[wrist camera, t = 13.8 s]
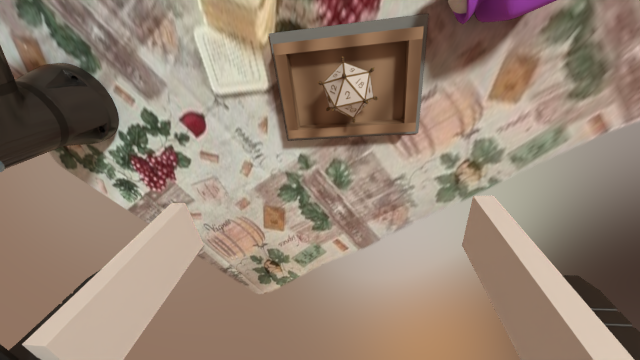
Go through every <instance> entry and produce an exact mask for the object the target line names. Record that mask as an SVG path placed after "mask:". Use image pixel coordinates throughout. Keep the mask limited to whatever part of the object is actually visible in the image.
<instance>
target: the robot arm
mask: <svg viewBox="0 0 640 360" xmlns="http://www.w3.org/2000/svg"><path fill="white" fill-rule="evenodd" d="M117 127H118V114H117V110H116V107H115V104H114V102H113V100H112V98H111V97H110V95H109V93H108V92H107V91H106V89H105V88H104V87H103V86H102V85H101V83H100V82H99V81H97V80H96V79H95V78H94V77H93V76H92V75H90V74H89V73H88V72H86V71H84V70H83V69H81V68H79V67H76V66H74V65H71V64H66V63H55V64H47V65H43V66H40V67H38V68H36V69H34V70H32V71H30V72H29V73H27V74H25V75H23V76H21V77H19V78H18V79H16V80H15V79H14V77H13V74H12V72H11V69H10V67H9V65H8V62H7V60H6V58H5V55H4V53H3V50H2V48H1V46H0V172H2V171H4V169H6V168H9V167H11V166H14V165H16V164H19V163H21V162H24V161H27V160H29V159H32V158H34V157H37V156H39V155H42V154H44V153H47V152H49V151H52V150H54V149H57V148H59V147H62V146H69V145H82V144H94V143H98V142H101V141H103V140H106V139H108V138H110V137H111V136H112V135H113V134H114V133H115V132H116V130H117ZM203 245H204V244H203V242H202V240H201V238H200V235H199V233H198V231H197V229H196V226H195V224H194V222H193V220H192V217H191V215H190V213H189V210H188V208H187V206H186V204H185V203H171V204H170V205H169V206H168V207H167V208H166V209H165V210H164V211H163V212H162V213H161V214H160V215H158V216H157V217H156V218H155V219H154V220H153V221H152V222H151V223H150V224H149V225H148V226H147V227H146V228H145V229H144V230H143V231H142V232H140V233H139V234H138V235H137V236H136V237H135V238H134V239H133V240H132V241H131V242H130V243H129V244H128V245H127V246H126V247H125V248H124V249H122V250H121V251H120V252H119V253H118V254H117V255H116V256H115V257H114V258H113V259H112V260H111V261H110V262H109V263H108V264H107V265H105V267H103V268H102V269H101V270H99V271H98V272H96V273H95V274H93V275H92V276H90V277H89V278H87V279H86V280H85V281H84V282H83V283H82V284H81V285H80V286H78V288H76V289H75V290H74V293H73V294H70V295H69V296H68V297H67V298H66V299H64V300H63V302H62V304H59V305H58V306H57V307H56V308H55V309H54V310H53V311H52V312H50V313H49V314H48V315H47V316H46V317H45V318H44V319H43V320H42V321H41V322H40V323H39V324H37V325H36V326H35V327H34V328H33V329H32V330H31V331H30V332H29V333H28V334H27V335H26V336H25V337H23V338H22V339H21V340H20V341H19V342H18V343H17V344H16V345H15V346H13V347H12V348H11V349H10V350H9V351H8V350H7V349H5V348H4V347H3V346H2V345H0V360H123V359H124V358H125V356H126V355H127V353H128V352H129V350H130V349H131V348H132V346H133V345H134V343H135V342H136V341H137V339H138V338H139V336H140V335H141V333H142V332H143V331H144V329H145V328H146V326H147V325H148V323H149V322H150V320H151V319H152V318H153V316H154V315H155V313H156V312H157V311H158V309H159V308H160V306H161V305H162V304H163V302H164V300H165V299H166V298H167V296H168V295H169V294H170V292H171V291H172V289H173V288H174V286H175V285H176V283H177V282H178V281H179V279H180V278H181V276H182V275H183V273H184V272H185V271H186V269H187V268H188V266H189V265H190V264H191V262H192V261H193V259H194V258H195V256H196V255H197V254H198V252H199V251H200V249H201V248H202V246H203ZM462 246H463V248H464V250H465V252H466V254H467V256H468V258H469V260H470V262H471V264H472V266H473V267H474V269H475V271H476V273H477V275H478V277H479V279H480V281H481V283H482V285H483V287H484V289H485V291H486V293H487V295H488V297H489V299H490V301H491V303H492V305H493V307H494V308H495V310H496V312H497V314H498V316H499V318H500V320H501V322H502V324H503V326H504V328H505V330H506V332H507V334H508V336H509V338H510V340H511V342H512V344H513V346H514V347H515V349H516V351H517V353H518V355H519V357H520V359H521V360H640V332H639V331H638V330H637V329H636V328H633V327H632V324H631V323H630V321H628V319H627V318H626V317H624V315H623V314H622V313H621V312H618V311H617V308H616V307H615V306H614V305H613V304H612V303H611V302H610V301H609V300H608V298H607V297H606V296H605V295H604V294H603V293H602V292H601V291H600V290H598V289H597V288H595V287H594V286H592V285H591V284H590V283H588V282H587V281H585V280H584V279H582V278H581V277H579V276H568V275H567V276H566V275H561V274H560V273H559V271H558V270H557V269H556V268H555V267H554V266H553V264H552V263H551V262H550V261H549V260H548V259H547V257H546V256H545V255H544V254H543V253H542V252H541V250H540V249H539V248H538V247H537V246H536V245H535V243H534V242H533V241H532V240H531V239H530V238H529V237H528V236H527V234H526V233H525V232H524V231H523V230H522V228H521V227H520V226H519V225H518V224H517V223H516V221H515V220H514V219H513V218H512V217H511V216H510V215H509V213H508V212H507V211H506V210H505V209H504V207H503V206H502V205H501V204H500V203H499V202H498V201H497V199H496V198H495V197H494V196H473V200H472V204H471V208H470V213H469V217H468V221H467V226H466V230H465V235H464V239H463V243H462Z"/></svg>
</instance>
